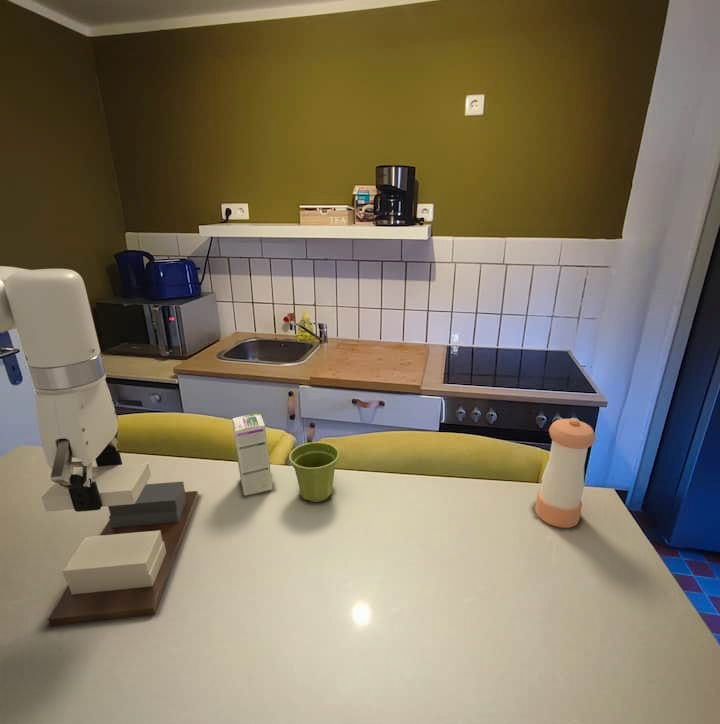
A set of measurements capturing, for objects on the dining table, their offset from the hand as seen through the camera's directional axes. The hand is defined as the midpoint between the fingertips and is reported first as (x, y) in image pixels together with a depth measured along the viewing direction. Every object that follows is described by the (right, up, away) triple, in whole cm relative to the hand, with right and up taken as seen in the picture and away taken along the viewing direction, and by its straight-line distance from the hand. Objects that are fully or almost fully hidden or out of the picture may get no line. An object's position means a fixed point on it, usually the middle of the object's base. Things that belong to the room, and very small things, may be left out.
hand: (101, 491), depth 59 cm
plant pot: (+27, -8, +25) cm, 37 cm away
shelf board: (-1, -13, +11) cm, 17 cm away
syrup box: (+15, -7, +27) cm, 32 cm away
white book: (0, 0, 0) cm, 0 cm away
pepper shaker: (+71, -10, +18) cm, 74 cm away
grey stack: (-1, -9, +17) cm, 19 cm away
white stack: (0, -14, +5) cm, 14 cm away
